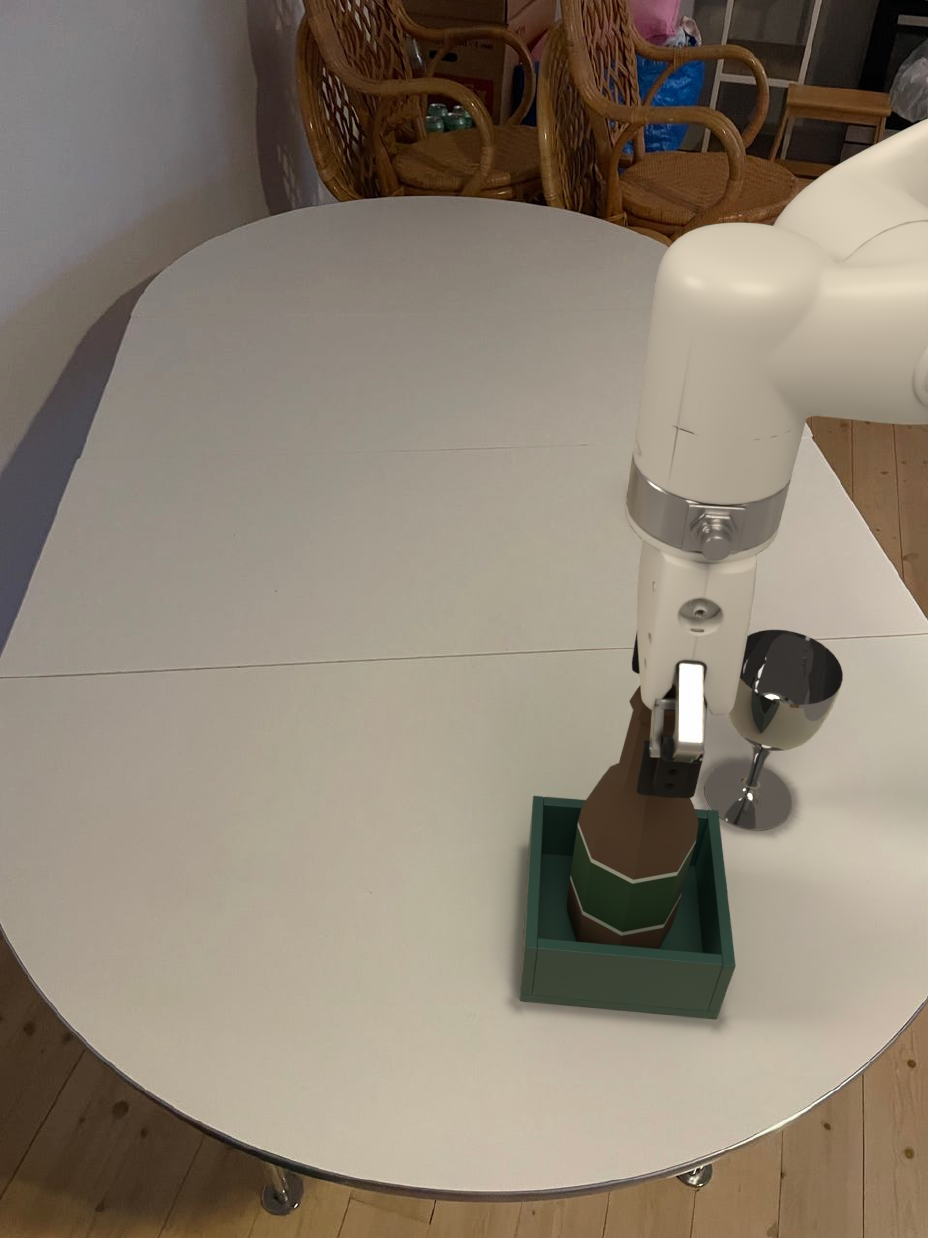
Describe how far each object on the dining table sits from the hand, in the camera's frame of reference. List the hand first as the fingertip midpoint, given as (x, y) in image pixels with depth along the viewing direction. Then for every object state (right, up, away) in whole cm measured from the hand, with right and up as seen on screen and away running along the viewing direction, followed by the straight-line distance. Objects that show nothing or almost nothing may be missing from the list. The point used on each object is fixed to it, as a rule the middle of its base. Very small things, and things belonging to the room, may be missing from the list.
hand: (660, 728), depth 62 cm
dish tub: (0, -16, +15) cm, 22 cm away
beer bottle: (0, -16, +14) cm, 21 cm away
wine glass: (+12, -8, +24) cm, 28 cm away
